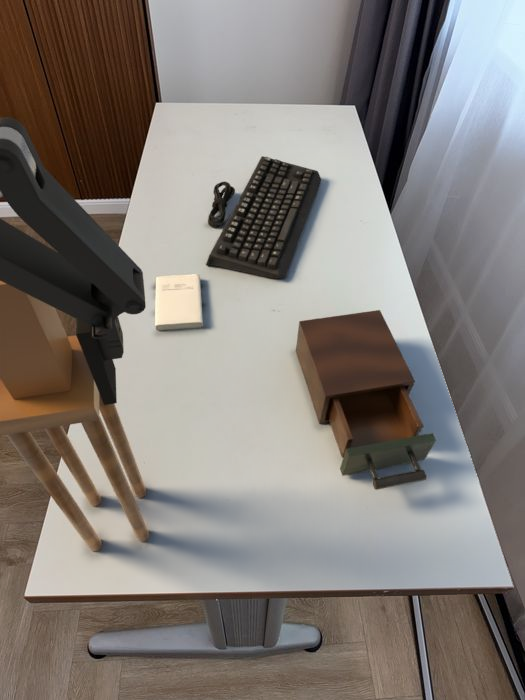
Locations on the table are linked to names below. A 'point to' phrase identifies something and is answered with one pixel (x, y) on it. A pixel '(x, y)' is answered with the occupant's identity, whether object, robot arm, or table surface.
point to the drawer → (379, 434)
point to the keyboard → (264, 219)
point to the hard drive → (178, 302)
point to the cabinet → (349, 358)
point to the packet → (32, 346)
